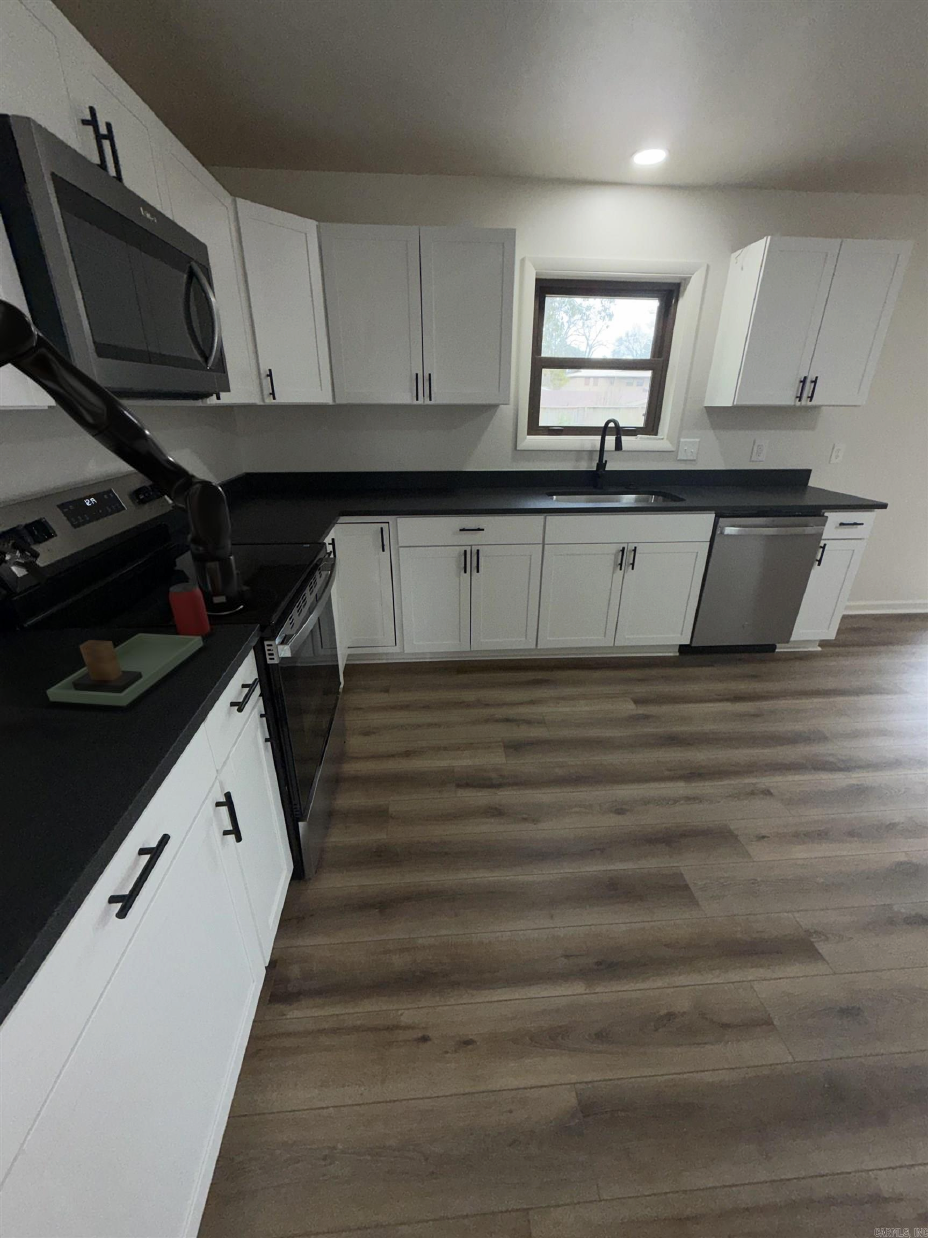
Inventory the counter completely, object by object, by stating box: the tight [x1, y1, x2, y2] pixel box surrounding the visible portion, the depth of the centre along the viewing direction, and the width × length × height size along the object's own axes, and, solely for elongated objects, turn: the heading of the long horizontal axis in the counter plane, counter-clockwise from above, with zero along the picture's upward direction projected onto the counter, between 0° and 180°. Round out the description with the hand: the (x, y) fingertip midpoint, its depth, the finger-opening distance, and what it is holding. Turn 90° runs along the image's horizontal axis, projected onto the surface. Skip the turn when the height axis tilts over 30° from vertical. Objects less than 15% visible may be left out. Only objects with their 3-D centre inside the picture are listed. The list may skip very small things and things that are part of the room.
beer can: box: [168, 582, 211, 637], centre depth 113 cm, size 7×7×12 cm
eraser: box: [72, 639, 143, 694], centre depth 91 cm, size 10×5×9 cm, turn 84°
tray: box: [46, 632, 204, 707], centre depth 99 cm, size 24×15×3 cm, turn 174°
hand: (26, 588), depth 88 cm, fingers open, 8 cm apart
